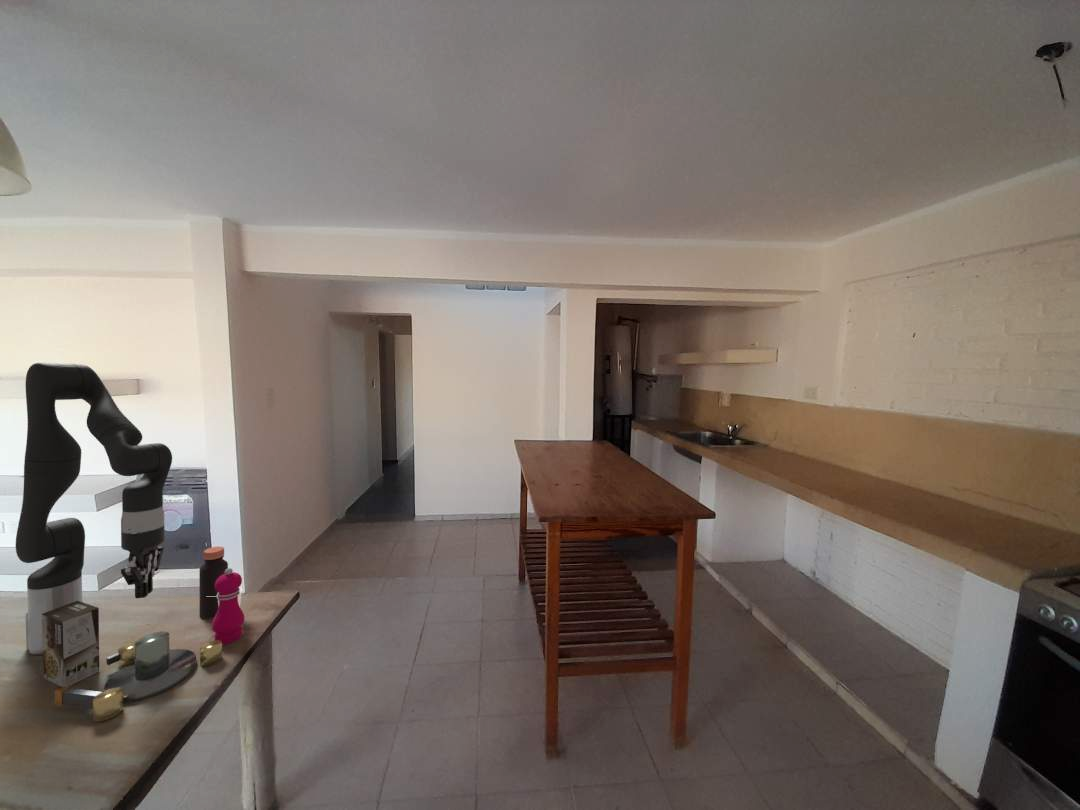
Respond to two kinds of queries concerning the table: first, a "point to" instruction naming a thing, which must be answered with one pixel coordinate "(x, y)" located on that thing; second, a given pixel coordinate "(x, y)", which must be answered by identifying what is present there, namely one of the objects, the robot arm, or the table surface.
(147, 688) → the base
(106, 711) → the brass head mallet
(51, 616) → the coffee box
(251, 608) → the table surface
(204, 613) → the bottle
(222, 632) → the pepper mill
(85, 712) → the table surface
